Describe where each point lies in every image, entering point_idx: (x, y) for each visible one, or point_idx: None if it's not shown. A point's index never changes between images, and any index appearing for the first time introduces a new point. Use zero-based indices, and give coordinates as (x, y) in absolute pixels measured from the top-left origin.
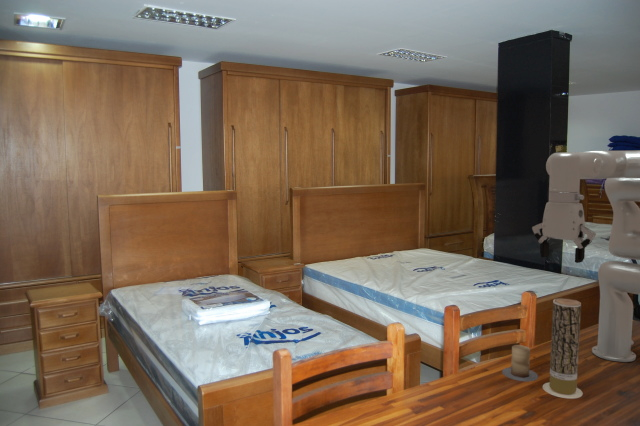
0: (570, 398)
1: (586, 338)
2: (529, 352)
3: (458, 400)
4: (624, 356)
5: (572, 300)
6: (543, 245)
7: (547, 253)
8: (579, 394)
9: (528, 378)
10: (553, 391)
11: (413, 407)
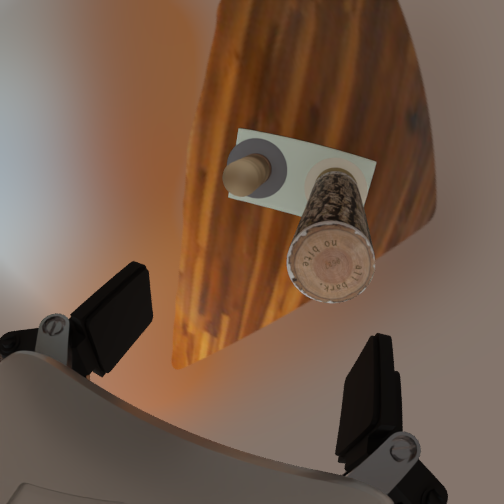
0: None
1: None
2: (259, 178)
3: (230, 292)
4: None
5: (343, 238)
6: (109, 368)
7: (138, 292)
8: (363, 190)
9: (275, 178)
10: None
11: (206, 328)
